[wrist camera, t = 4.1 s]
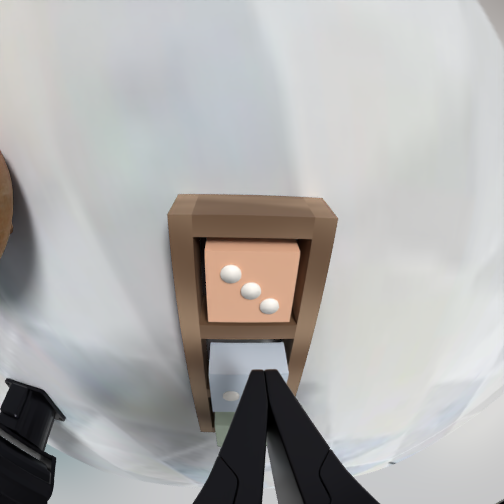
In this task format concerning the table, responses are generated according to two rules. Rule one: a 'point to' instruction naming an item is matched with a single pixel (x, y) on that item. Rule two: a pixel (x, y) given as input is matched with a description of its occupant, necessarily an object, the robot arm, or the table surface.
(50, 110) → the table surface
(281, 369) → the key two blue
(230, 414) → the key one sage
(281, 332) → the key strip
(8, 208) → the onion
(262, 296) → the key three terracotta
